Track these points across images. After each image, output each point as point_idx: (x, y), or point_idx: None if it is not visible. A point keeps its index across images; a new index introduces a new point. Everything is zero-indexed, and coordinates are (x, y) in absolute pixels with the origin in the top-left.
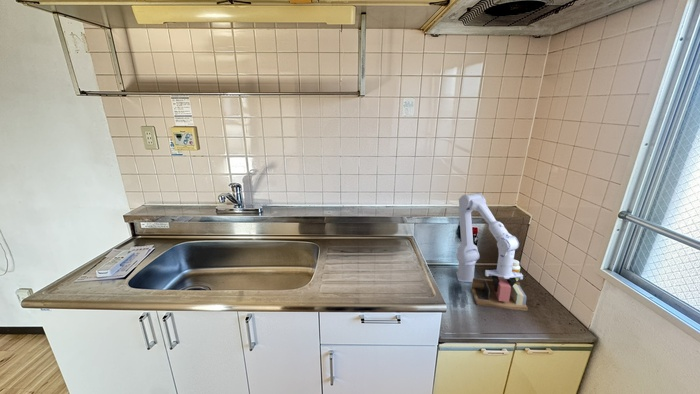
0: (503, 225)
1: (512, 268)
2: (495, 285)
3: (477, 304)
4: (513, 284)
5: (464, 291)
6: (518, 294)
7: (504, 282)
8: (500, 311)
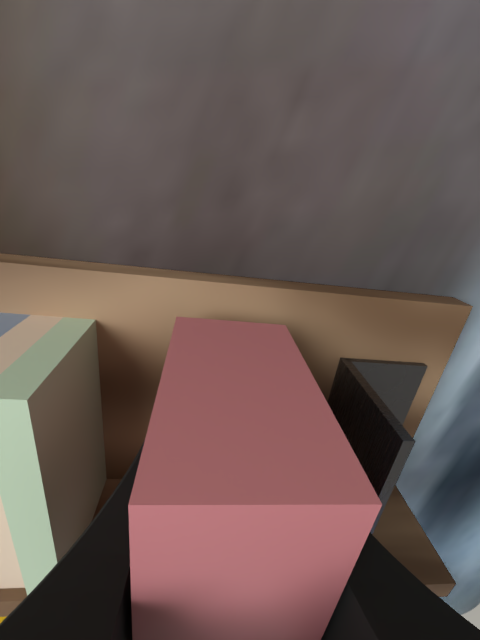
0: None
1: None
2: None
3: (455, 299)
4: (27, 611)
5: (440, 450)
6: (15, 397)
7: (212, 626)
8: (283, 221)
